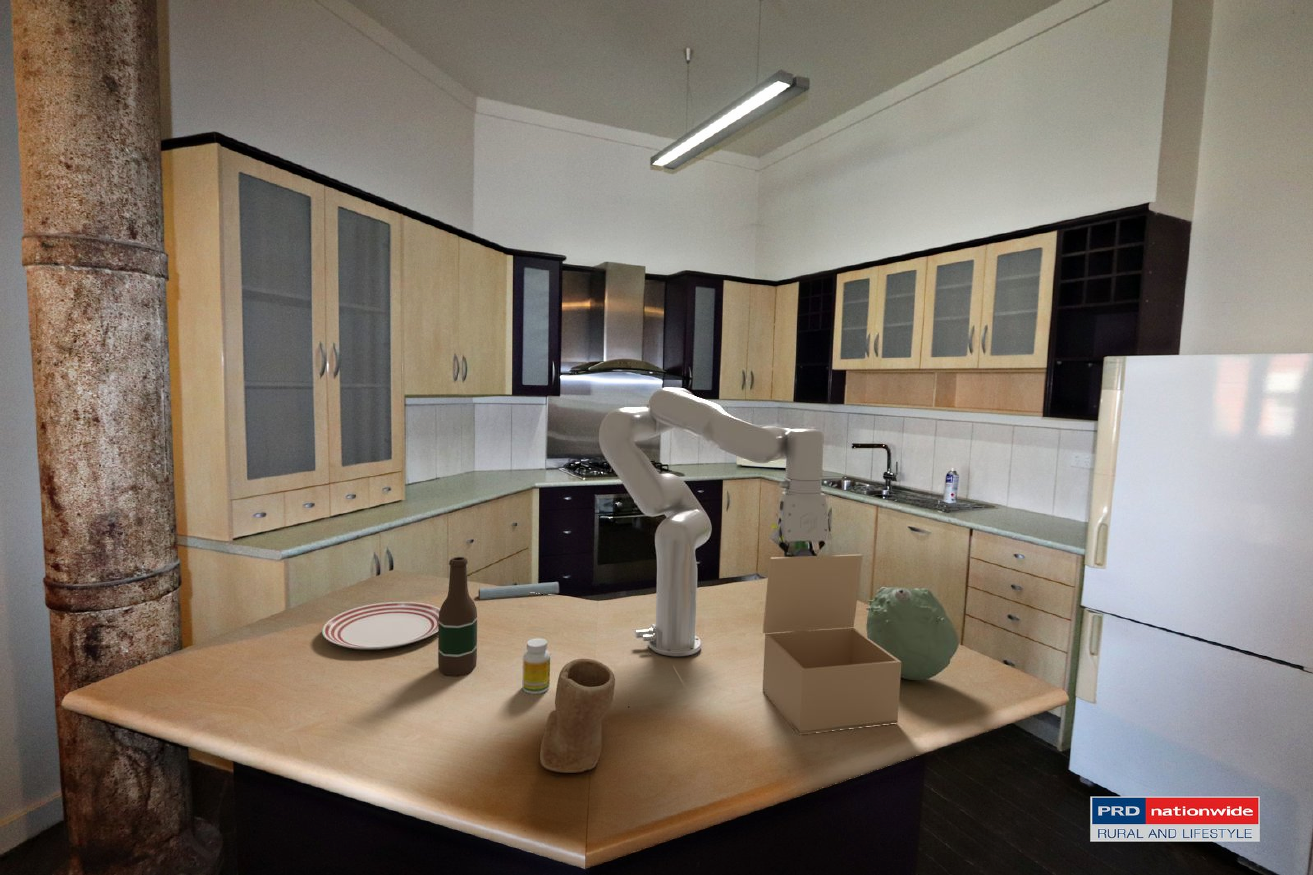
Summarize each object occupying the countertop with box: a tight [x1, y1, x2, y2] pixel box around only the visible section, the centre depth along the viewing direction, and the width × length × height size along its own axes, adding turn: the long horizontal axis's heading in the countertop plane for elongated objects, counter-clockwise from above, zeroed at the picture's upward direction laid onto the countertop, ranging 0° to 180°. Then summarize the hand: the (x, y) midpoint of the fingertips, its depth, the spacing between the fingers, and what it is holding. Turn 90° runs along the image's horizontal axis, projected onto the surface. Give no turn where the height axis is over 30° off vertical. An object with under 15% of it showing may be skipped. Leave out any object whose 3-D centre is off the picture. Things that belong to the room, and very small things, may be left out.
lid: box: [762, 548, 863, 634], centre depth 125 cm, size 20×16×8 cm
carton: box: [762, 627, 902, 736], centre depth 115 cm, size 20×16×12 cm
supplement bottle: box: [522, 637, 551, 695], centre depth 119 cm, size 5×5×10 cm
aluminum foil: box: [477, 581, 560, 600], centre depth 170 cm, size 23×7×3 cm, turn 110°
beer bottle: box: [437, 556, 478, 678], centre depth 125 cm, size 8×8×24 cm
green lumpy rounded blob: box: [865, 586, 960, 681], centre depth 129 cm, size 16×19×20 cm
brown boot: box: [539, 658, 616, 774], centre depth 99 cm, size 15×12×15 cm
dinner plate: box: [321, 601, 441, 650], centre depth 143 cm, size 28×27×3 cm
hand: (800, 570), depth 127 cm, fingers closed on lid, 4 cm apart
